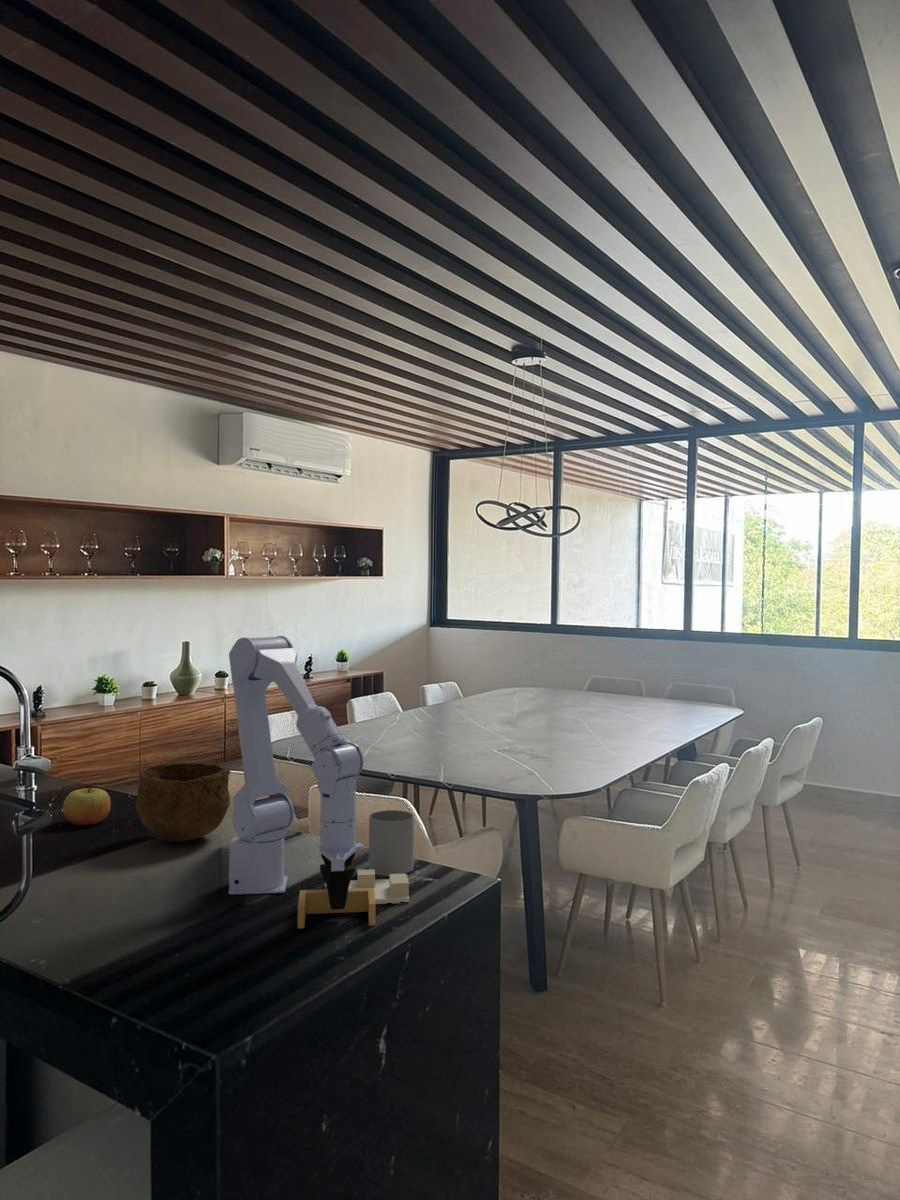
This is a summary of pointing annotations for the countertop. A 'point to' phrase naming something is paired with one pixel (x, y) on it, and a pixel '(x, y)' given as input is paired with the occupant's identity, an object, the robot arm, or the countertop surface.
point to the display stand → (383, 886)
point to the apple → (87, 806)
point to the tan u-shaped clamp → (320, 904)
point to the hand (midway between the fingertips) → (338, 901)
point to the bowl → (182, 799)
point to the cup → (391, 842)
